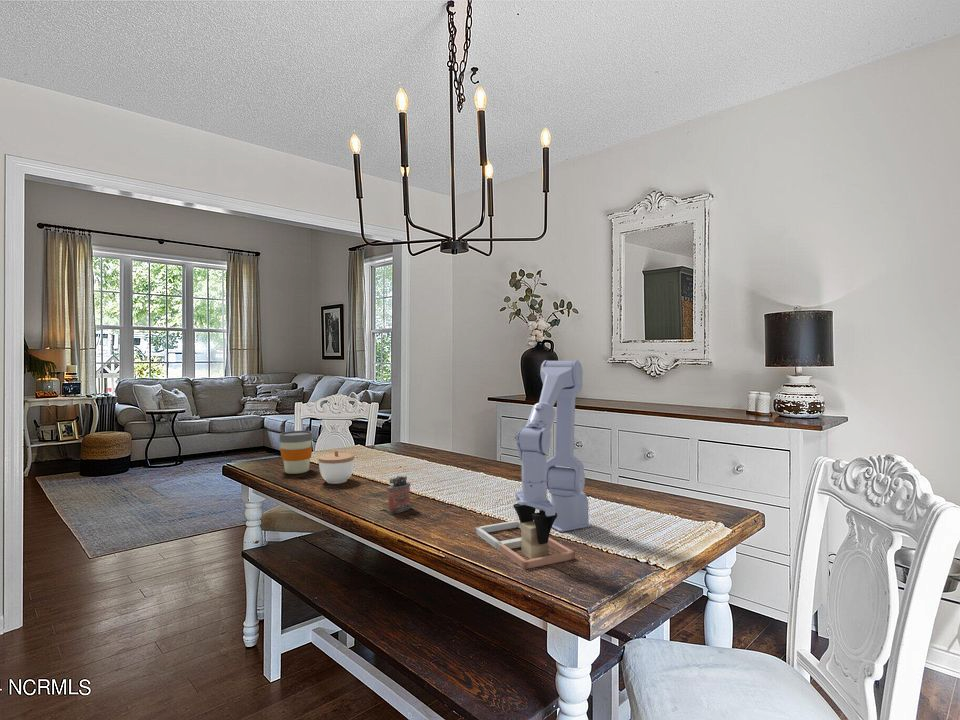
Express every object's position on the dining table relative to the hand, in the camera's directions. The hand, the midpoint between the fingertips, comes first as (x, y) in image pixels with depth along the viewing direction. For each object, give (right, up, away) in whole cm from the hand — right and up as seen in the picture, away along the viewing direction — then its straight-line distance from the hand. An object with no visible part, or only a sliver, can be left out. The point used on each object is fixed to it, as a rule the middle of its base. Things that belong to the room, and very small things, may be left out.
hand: (535, 538), depth 129 cm
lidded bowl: (-64, -3, +73) cm, 98 cm away
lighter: (-37, -3, +37) cm, 52 cm away
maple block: (0, -4, 0) cm, 4 cm away
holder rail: (-3, -4, +6) cm, 7 cm away
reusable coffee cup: (-85, -3, +91) cm, 125 cm away
